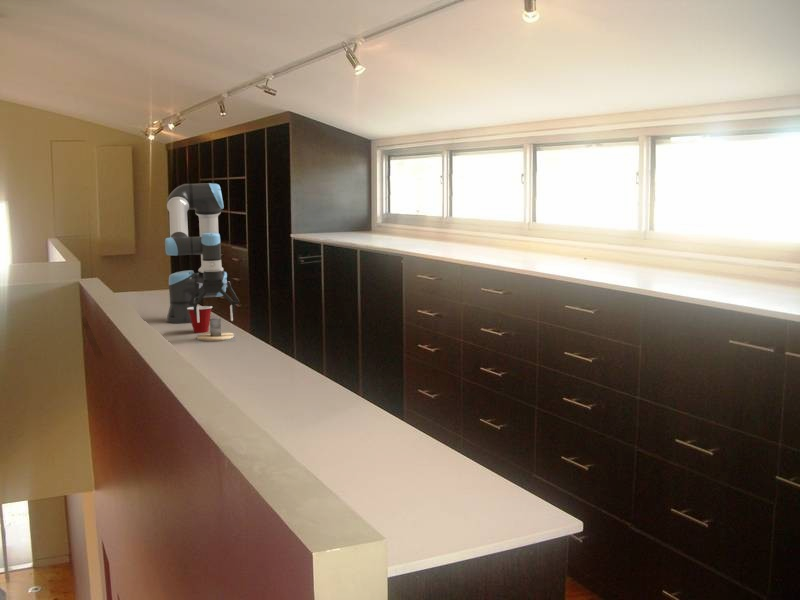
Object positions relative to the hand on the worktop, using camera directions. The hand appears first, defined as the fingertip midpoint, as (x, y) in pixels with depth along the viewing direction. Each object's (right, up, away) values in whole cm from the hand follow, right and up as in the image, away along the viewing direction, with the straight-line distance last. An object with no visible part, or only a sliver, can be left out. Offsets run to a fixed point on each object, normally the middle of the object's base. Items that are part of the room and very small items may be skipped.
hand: (215, 321), depth 331 cm
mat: (0, -8, +2) cm, 8 cm away
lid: (0, -7, +1) cm, 7 cm away
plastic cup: (-10, -6, +16) cm, 20 cm away
